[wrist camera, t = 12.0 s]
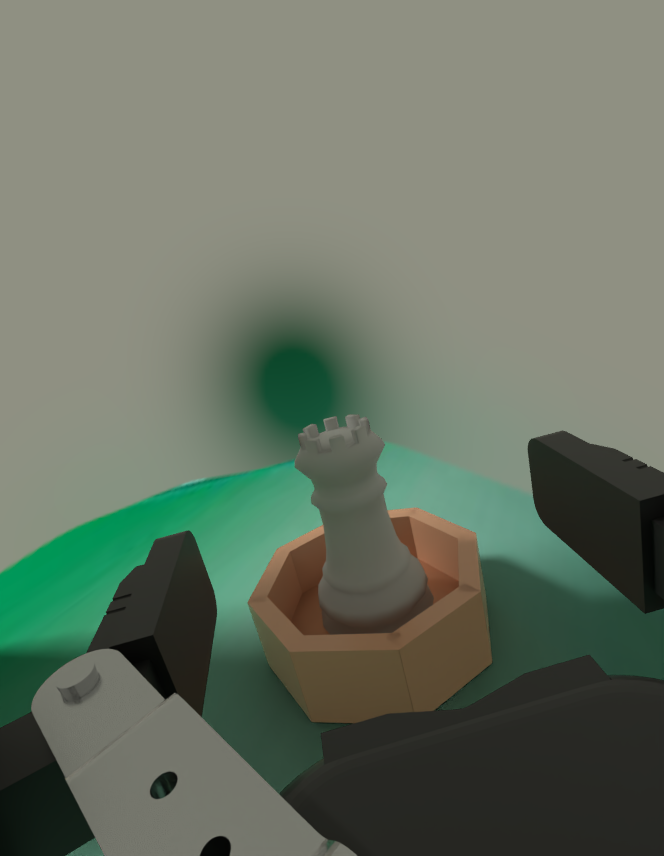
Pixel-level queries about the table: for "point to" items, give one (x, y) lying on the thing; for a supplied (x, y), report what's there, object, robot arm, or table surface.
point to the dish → (380, 652)
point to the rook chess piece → (359, 534)
